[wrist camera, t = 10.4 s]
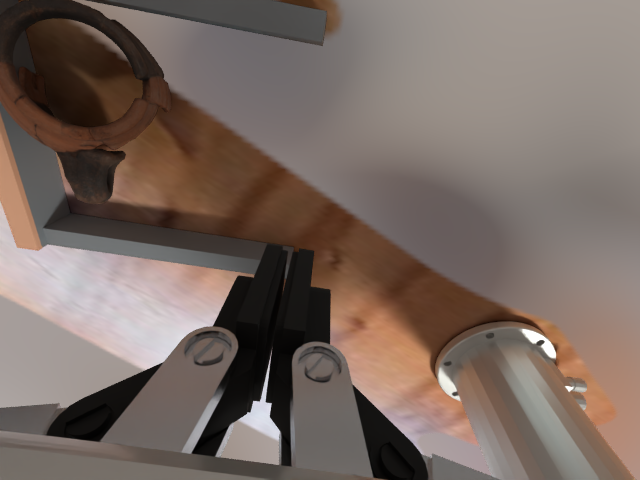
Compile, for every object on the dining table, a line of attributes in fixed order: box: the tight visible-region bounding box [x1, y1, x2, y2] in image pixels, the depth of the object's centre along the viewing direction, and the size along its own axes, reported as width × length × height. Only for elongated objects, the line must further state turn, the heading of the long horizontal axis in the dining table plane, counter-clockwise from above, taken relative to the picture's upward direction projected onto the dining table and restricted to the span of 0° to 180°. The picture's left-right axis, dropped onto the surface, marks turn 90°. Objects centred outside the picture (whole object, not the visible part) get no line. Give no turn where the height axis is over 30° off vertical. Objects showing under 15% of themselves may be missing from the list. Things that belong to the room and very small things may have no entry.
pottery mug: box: [0, 0, 171, 204], centre depth 21 cm, size 12×10×8 cm
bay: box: [0, 0, 327, 279], centre depth 22 cm, size 22×19×4 cm
